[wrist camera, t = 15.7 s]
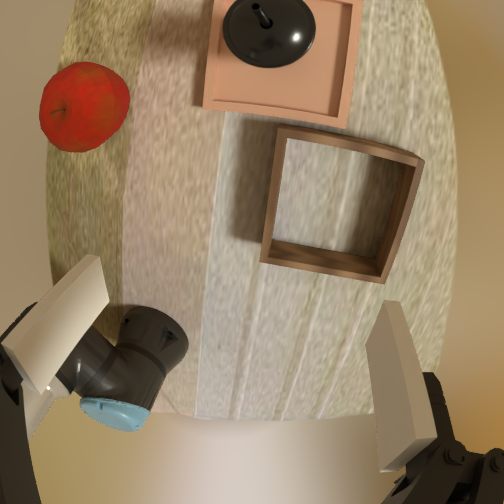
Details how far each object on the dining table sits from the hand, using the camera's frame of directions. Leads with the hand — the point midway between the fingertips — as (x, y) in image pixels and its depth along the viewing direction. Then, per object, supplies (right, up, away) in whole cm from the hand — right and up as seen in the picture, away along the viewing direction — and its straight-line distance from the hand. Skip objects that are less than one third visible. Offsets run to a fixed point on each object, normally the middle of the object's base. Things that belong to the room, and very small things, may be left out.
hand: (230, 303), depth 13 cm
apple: (-20, +25, +25) cm, 40 cm away
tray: (+5, +27, +18) cm, 33 cm away
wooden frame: (+13, +9, +27) cm, 31 cm away
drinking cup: (+5, +27, +18) cm, 33 cm away
